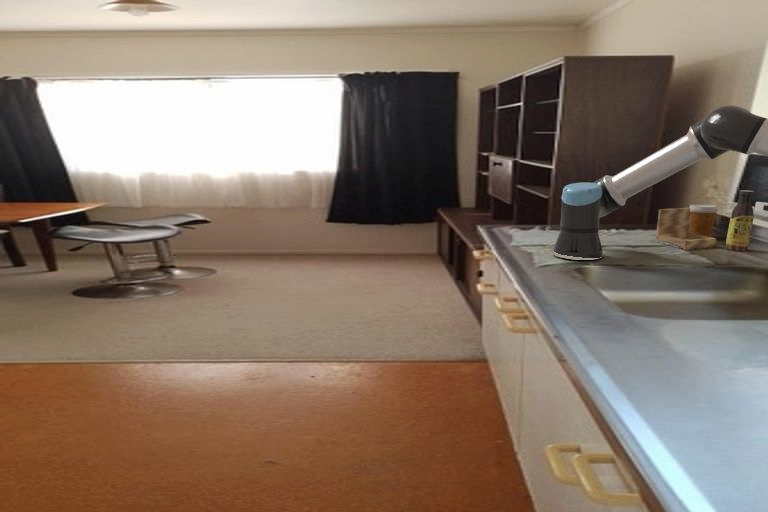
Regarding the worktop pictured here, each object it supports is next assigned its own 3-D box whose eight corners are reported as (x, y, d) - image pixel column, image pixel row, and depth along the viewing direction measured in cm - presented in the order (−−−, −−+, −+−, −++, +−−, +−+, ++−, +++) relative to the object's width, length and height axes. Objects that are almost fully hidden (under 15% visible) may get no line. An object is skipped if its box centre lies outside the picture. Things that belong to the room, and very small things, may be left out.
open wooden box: (684, 249, 167) (689, 214, 165) (655, 241, 180) (658, 209, 177) (715, 246, 170) (720, 212, 167) (684, 239, 183) (688, 207, 180)
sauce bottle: (730, 251, 163) (739, 191, 158) (721, 247, 169) (729, 189, 164) (752, 252, 162) (761, 191, 157) (742, 248, 168) (751, 189, 163)
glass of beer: (686, 233, 194) (690, 203, 191) (715, 236, 189) (719, 204, 186) (683, 237, 187) (687, 206, 184) (713, 240, 181) (718, 207, 178)
